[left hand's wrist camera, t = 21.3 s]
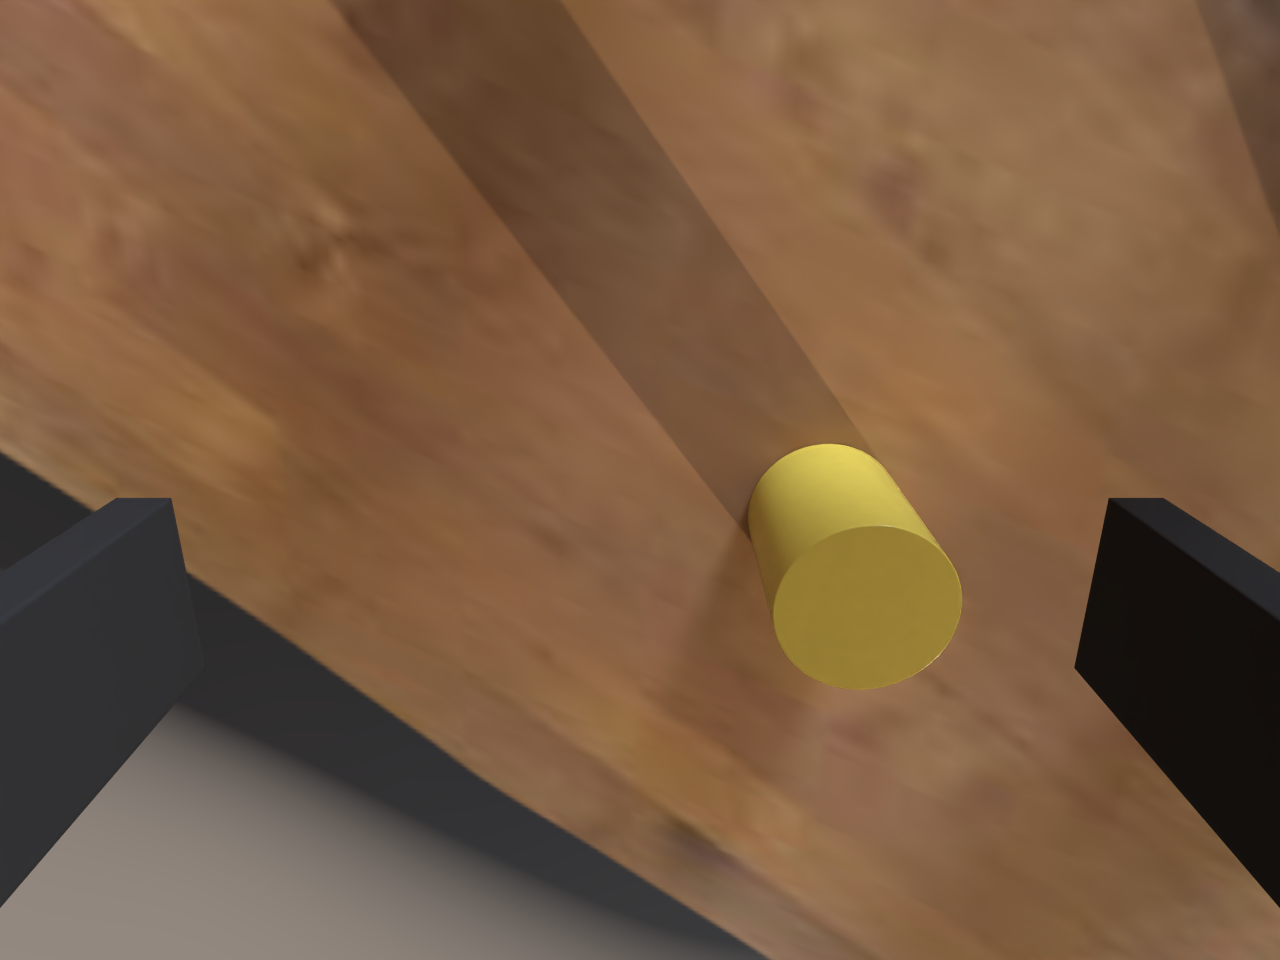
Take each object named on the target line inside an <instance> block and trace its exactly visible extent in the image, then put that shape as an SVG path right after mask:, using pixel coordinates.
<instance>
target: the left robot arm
mask: <svg viewBox="0 0 1280 960" xmlns="http://www.w3.org/2000/svg"><path fill="white" fill-rule="evenodd" d="M1074 668H1075V669H1076V670H1077V671H1078V673H1079V674H1080V675H1081V676H1082V677H1083V679H1084V680H1085V681H1086V682H1087V683H1088V684H1089V686H1090V687H1091V688H1092V689H1093V690H1094V691H1095V693H1096V694H1097V695H1098V696H1099V697H1100V698H1101V700H1102V701H1103V702H1104V703H1105V704H1106V705H1107V707H1108V708H1109V709H1110V710H1111V711H1112V712H1113V714H1114V715H1115V716H1116V717H1117V718H1118V719H1119V721H1120V722H1121V723H1122V724H1123V725H1124V726H1125V728H1126V729H1127V730H1128V731H1129V732H1130V733H1131V735H1132V736H1133V737H1134V738H1135V739H1136V740H1137V742H1138V743H1139V744H1140V745H1141V746H1142V747H1143V749H1144V750H1145V751H1146V752H1147V753H1148V754H1149V756H1150V757H1151V758H1152V759H1153V760H1154V761H1155V763H1156V764H1157V765H1158V766H1159V767H1160V768H1161V770H1162V771H1163V772H1164V773H1165V774H1166V775H1167V777H1168V778H1169V779H1170V780H1171V781H1172V782H1173V784H1174V785H1175V786H1176V787H1177V788H1178V789H1179V791H1180V792H1181V793H1182V794H1183V795H1184V797H1185V798H1186V799H1187V800H1188V801H1189V802H1190V804H1191V805H1192V806H1193V807H1194V808H1195V809H1196V811H1197V812H1198V813H1199V814H1200V815H1201V816H1202V818H1203V819H1204V820H1205V821H1206V822H1207V823H1208V825H1209V826H1210V827H1211V828H1212V829H1213V830H1214V832H1215V833H1216V834H1217V835H1218V836H1219V837H1220V839H1221V840H1222V841H1223V842H1224V843H1225V844H1226V846H1227V847H1228V848H1229V849H1230V850H1231V851H1232V853H1233V854H1234V855H1235V856H1236V857H1237V858H1238V860H1239V861H1240V862H1241V863H1242V864H1243V865H1244V867H1245V868H1246V869H1247V870H1248V871H1249V872H1250V874H1251V875H1252V876H1253V877H1254V878H1255V879H1256V881H1257V882H1258V883H1259V884H1260V885H1261V886H1262V888H1263V889H1264V890H1265V891H1266V892H1267V893H1268V895H1269V896H1270V897H1271V898H1272V899H1273V900H1274V902H1275V903H1276V904H1277V905H1278V906H1279V907H1280V573H1279V572H1277V571H1276V570H1274V569H1273V568H1271V567H1270V566H1268V565H1267V564H1265V563H1263V562H1262V561H1260V560H1259V559H1257V558H1256V557H1254V556H1253V555H1251V554H1250V553H1248V552H1246V551H1245V550H1243V549H1242V548H1240V547H1239V546H1237V545H1236V544H1234V543H1232V542H1231V541H1229V540H1228V539H1226V538H1225V537H1223V536H1222V535H1220V534H1219V533H1217V532H1215V531H1214V530H1212V529H1211V528H1209V527H1208V526H1206V525H1205V524H1203V523H1201V522H1200V521H1198V520H1197V519H1195V518H1194V517H1192V516H1191V515H1189V514H1188V513H1186V512H1184V511H1183V510H1181V509H1180V508H1178V507H1177V506H1175V505H1174V504H1172V503H1170V502H1169V501H1167V500H1166V499H1164V498H1109V500H1108V505H1107V510H1106V515H1105V519H1104V524H1103V529H1102V534H1101V539H1100V544H1099V549H1098V554H1097V559H1096V564H1095V569H1094V574H1093V579H1092V583H1091V588H1090V593H1089V598H1088V603H1087V608H1086V613H1085V618H1084V623H1083V628H1082V633H1081V638H1080V642H1079V647H1078V652H1077V657H1076V662H1075V667H1074ZM204 669H205V662H204V657H203V652H202V648H201V642H200V638H199V633H198V628H197V623H196V618H195V613H194V608H193V603H192V598H191V593H190V588H189V584H188V579H187V574H186V569H185V564H184V559H183V554H182V549H181V544H180V539H179V534H178V529H177V524H176V519H175V515H174V510H173V505H172V500H171V498H116V499H114V500H113V501H111V502H110V503H108V504H106V505H105V506H103V507H102V508H100V509H99V510H97V511H96V512H94V513H92V514H91V515H89V516H88V517H86V518H85V519H83V520H82V521H80V522H79V523H77V524H75V525H74V526H72V527H71V528H69V529H68V530H66V531H65V532H63V533H61V534H60V535H58V536H57V537H55V538H54V539H52V540H51V541H49V542H48V543H46V544H44V545H43V546H41V547H40V548H38V549H37V550H35V551H34V552H32V553H30V554H29V555H27V556H26V557H24V558H23V559H21V560H20V561H18V562H17V563H15V564H13V565H12V566H10V567H9V568H7V569H6V570H4V571H3V572H1V573H0V907H1V906H2V905H3V904H4V903H5V902H6V900H7V899H8V898H9V897H10V896H11V895H12V893H13V892H14V891H15V890H16V889H17V888H18V886H19V885H20V884H21V883H22V882H23V881H24V879H25V878H26V877H27V876H28V875H29V874H30V872H31V871H32V870H33V869H34V868H35V867H36V865H37V864H38V863H39V862H40V861H41V860H42V858H43V857H44V856H45V855H46V854H47V853H48V851H49V850H50V849H51V848H52V847H53V846H54V844H55V843H56V842H57V841H58V840H59V839H60V837H61V836H62V835H63V834H64V833H65V832H66V830H67V829H68V828H69V827H70V826H71V824H72V823H73V822H74V821H75V820H76V819H77V818H78V816H79V815H80V814H81V813H82V812H83V810H84V809H85V808H86V807H87V806H88V805H89V804H90V802H91V801H92V800H93V799H94V798H95V796H96V795H97V794H98V793H99V792H100V791H101V789H102V788H103V787H104V786H105V785H106V784H107V782H108V781H109V780H110V779H111V778H112V777H113V775H114V774H115V773H116V772H117V771H118V770H119V768H120V767H121V766H122V765H123V764H124V763H125V761H126V760H127V759H128V758H129V757H130V756H131V754H132V753H133V752H134V751H135V750H136V749H137V747H138V746H139V745H140V744H141V743H142V742H143V740H144V739H145V738H146V737H147V736H148V735H149V733H150V732H151V731H152V730H153V729H154V728H155V726H156V725H157V724H158V723H159V722H160V721H161V719H162V718H163V717H164V716H165V715H166V714H167V712H168V711H169V710H170V709H171V708H172V707H173V705H174V704H175V703H176V702H177V701H178V700H179V698H180V697H181V696H182V695H183V694H184V693H185V691H186V690H187V689H188V688H189V687H190V685H191V684H192V683H193V682H194V681H195V680H196V679H197V677H198V676H199V675H200V674H201V673H202V671H203V670H204Z"/></svg>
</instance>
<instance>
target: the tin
mask: <svg viewBox="0 0 1280 960" xmlns="http://www.w3.org/2000/svg"><path fill="white" fill-rule="evenodd" d="M748 525H749V531H750V535H751V539H752V543H753V547H754V551H755V555H756V559H757V563H758V567H759V571H760V575H761V579H762V583H763V587H764V591H765V595H766V599H767V603H768V607H769V611H770V615H771V619H772V623H773V627H774V631H775V634H776V638H777V640H778V642H779V645H780V647H781V648H782V650H783V652H784V653H785V655H786V656H787V657H788V658H789V660H790V661H791V662H792V663H793V664H794V665H795V666H796V667H797V668H798V669H800V670H801V671H802V672H804V673H805V674H807V675H808V676H810V677H811V678H813V679H815V680H817V681H819V682H822V683H825V684H828V685H831V686H835V687H839V688H846V689H872V688H879V687H884V686H888V685H891V684H894V683H897V682H900V681H903V680H905V679H907V678H909V677H911V676H913V675H915V674H916V673H918V672H919V671H921V670H923V669H924V668H925V667H926V666H928V665H929V664H930V663H932V662H933V661H934V660H935V659H936V658H937V657H938V656H939V655H940V654H941V652H942V651H943V650H944V649H945V647H946V646H947V645H948V643H949V641H950V640H951V638H952V636H953V634H954V632H955V630H956V628H957V625H958V622H959V618H960V614H961V607H962V592H961V586H960V581H959V578H958V575H957V572H956V570H955V569H954V567H953V565H952V563H951V561H950V560H949V559H948V557H947V556H946V554H945V553H944V551H943V550H942V549H941V547H940V546H939V544H938V543H937V542H936V540H935V539H934V537H933V536H932V534H931V533H930V532H929V530H928V529H927V527H926V526H925V525H924V523H923V522H922V520H921V519H920V518H919V516H918V515H917V513H916V512H915V510H914V509H913V508H912V506H911V505H910V503H909V502H908V501H907V499H906V498H905V496H904V495H903V494H902V492H901V491H900V489H899V488H898V486H897V485H896V484H895V482H894V481H893V479H892V478H891V477H890V475H889V474H888V472H887V471H886V470H885V468H884V467H883V466H882V465H881V464H880V463H879V462H878V461H877V460H875V459H874V458H873V457H871V456H870V455H868V454H866V453H864V452H863V451H860V450H858V449H855V448H853V447H849V446H845V445H838V444H820V445H812V446H809V447H805V448H801V449H799V450H796V451H794V452H792V453H790V454H788V455H786V456H784V457H783V458H781V459H780V460H779V461H777V462H776V463H775V464H774V465H773V466H771V467H770V468H769V469H768V470H767V471H766V473H765V474H764V475H763V476H762V478H761V479H760V481H759V482H758V484H757V485H756V487H755V490H754V492H753V494H752V497H751V500H750V504H749V510H748Z"/></svg>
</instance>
